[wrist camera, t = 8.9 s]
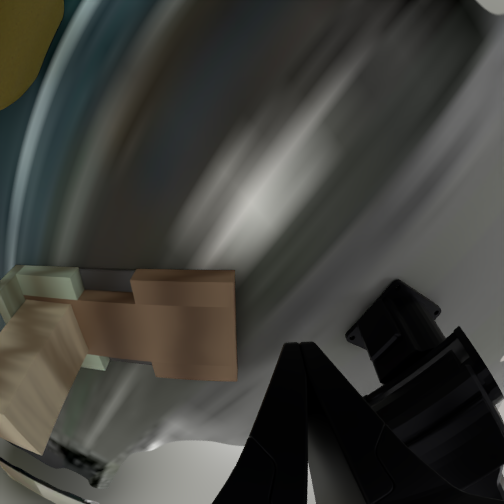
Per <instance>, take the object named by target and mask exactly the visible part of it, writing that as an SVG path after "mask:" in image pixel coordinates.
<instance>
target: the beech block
mask: <svg viewBox="0 0 504 504" xmlns="http://www.w3.org/2000/svg"><path fill="white" fill-rule="evenodd" d="M88 351H89V349H88V347H87V345H86V342H85V340H84V337H83V335H82V333H81V330H80V328H79V325H78V322H77V320H76V317H75V315H74V312H73V309H72V306H71V304H63V303H53V302H44V301H35V300H26V301H25V302H24V303H23V304H22V306H21V307H20V308H19V309H18V310H17V312H16V313H15V314H14V315H13V317H12V318H11V319H10V321H9V322H8V323H7V324H6V326H5V327H4V328H3V330H2V331H1V332H0V437H1V438H3V439H5V440H7V441H9V442H11V443H14V444H16V445H18V446H20V447H23V448H25V449H27V450H30V451H32V452H34V453H37V454H39V455H43V452H44V450H45V447H46V444H47V442H48V439H49V437H50V434H51V432H52V430H53V427H54V425H55V422H56V420H57V418H58V415H59V413H60V411H61V408H62V406H63V404H64V402H65V399H66V397H67V395H68V393H69V390H70V388H71V386H72V384H73V382H74V380H75V378H76V376H77V373H78V371H79V369H80V367H81V365H82V363H83V361H84V359H85V357H86V355H87V353H88Z"/></svg>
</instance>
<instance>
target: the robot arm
mask: <svg viewBox="0 0 504 504" xmlns="http://www.w3.org/2000/svg"><path fill="white" fill-rule="evenodd" d="M398 285H399V286H398ZM396 286H398V287H397V288H395V287H396ZM440 313H441V309H440V308H439V306H438V305H436V304H435V303H433V302H432V301H430V300H429V299H428V298H426V297H425V296H423V295H422V294H420V293H419V292H417V291H416V290H414V289H413V288H411V287H410V286H408V285H407V284H405V283H404V282H402V281H401V280H395V281H393V282H392V283H391V284H390V285H389V287H388V288H387V289H386V290H385V291H384V292H383V294H382V295H381V296H380V297H379V298H378V299H377V300H376V302H375V303H374V304H373V305H372V306H371V307H370V308H369V309H368V310H367V312H366V313H365V314H364V315H363V316H362V317H361V318H360V319H359V320H358V321H357V322H356V324H355V325H354V326H353V327H352V328H351V329H350V330H349V331H348V332H347V333H346V335H345V337H346V340H347V341H348V342H350V343H352V344H354V345H357V346H359V347H361V348H364V349H366V350H367V352H368V354H369V357H370V360H371V361H372V362H373V365H374V368H375V370H376V373H377V376H378V378H379V381H380V383H382V385H383V386H381V387H380V388H378V389H377V390H375V391H373V392H372V393H370V394H369V395H365V396H363V397H362V396H361V395H360V394H359V393H358V392H357V390H356V389H355V388H354V387H353V386H352V385H351V384H350V382H349V381H348V380H347V379H346V378H345V377H344V376H343V374H342V373H341V372H340V371H339V370H338V369H337V368H336V366H335V365H334V364H333V363H332V362H331V361H330V360H329V358H328V357H327V356H326V355H325V354H324V353H323V351H322V350H321V349H320V348H319V347H318V346H317V345H316V343H314V342H301V343H297V342H289V343H284V345H283V347H282V350H281V353H280V356H279V359H278V362H277V364H276V367H275V370H274V373H273V375H272V378H271V381H270V383H269V386H268V389H267V391H266V394H265V397H264V399H263V402H262V404H261V407H260V410H259V412H258V415H257V417H256V420H255V422H254V425H253V427H252V430H251V432H250V435H249V438H248V439H247V442H246V444H245V447H244V449H243V451H242V453H241V456H240V458H239V460H238V462H237V464H236V466H235V468H234V469H233V471H232V473H231V475H230V476H229V478H228V480H227V481H226V483H225V485H224V486H223V488H222V489H221V491H220V492H219V494H218V495H217V497H216V498H215V500H214V501H213V503H212V504H307V482H308V480H307V479H308V463H309V468H310V474H311V479H312V484H313V489H314V495H315V500H316V504H504V477H503V475H502V469H503V465H504V423H503V420H502V418H501V415H500V413H499V412H498V410H497V408H496V406H495V405H496V404H498V403H499V402H500V401H501V400H503V399H504V396H503V394H502V392H501V390H500V389H499V387H498V385H497V383H496V382H495V380H494V378H493V376H492V375H491V373H490V371H489V370H488V368H487V366H486V365H485V363H484V362H483V360H482V359H481V357H480V356H479V354H478V352H477V351H476V349H475V348H474V347H473V345H472V344H471V342H470V341H469V339H468V338H467V336H466V335H465V333H464V332H463V331H462V329H461V328H460V326H458V327H457V328H456V329H455V330H454V332H453V333H452V334H451V335H450V336H448V337H447V338H445V336H444V335H443V333H442V332H441V330H440V329H439V327H438V325H437V324H436V322H435V321H434V320H435V319H436V318H437V317H438V316H439V314H440ZM351 336H352V337H351Z"/></svg>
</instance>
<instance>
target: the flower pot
mask: <svg viewBox="0 0 504 504" xmlns="http://www.w3.org/2000/svg"><path fill="white" fill-rule="evenodd" d="M63 14H64V0H0V110H2V109H4V108H6V107H8V106H9V105H11V104H12V103H14V102H15V101H16V100H17V99H19V98H20V97H21V96H22V95H23V94H24V93H25V92H26V91H27V89H28V88H29V87H30V86H31V84H32V83H33V82H34V80H35V79H36V78H37V76H38V73H39V71H40V68H41V65H42V63H43V60H44V57H45V55H46V53H47V50H48V48H49V46H50V43H51V41H52V39H53V37H54V35H55V33H56V30H57V28H58V26H59V24H60V23H61V21H62V18H63Z"/></svg>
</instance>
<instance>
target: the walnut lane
mask: <svg viewBox="0 0 504 504" xmlns="http://www.w3.org/2000/svg"><path fill="white" fill-rule="evenodd" d="M26 300H35V301H44V302H53V303H63V304H71V306H72V309H73V312H74V315H75V317H76V320H77V322H78V325H79V328H80V330H81V333H82V335H83V337H84V340H85V342H86V345H87V347H88V349H89V351H88V353H87V355H86V357H85V359H84V361H83V363H82V365H81V367H85V368H91V369H97V370H104V371H105V370H106V368H107V365H108V363H109V361H110V360H113V361H121V362H129V363H139V364H149V365H153V369H154V372H155V375H156V377H162V378H174V379H188V380H206V381H237V372H238V365H237V334H236V300H235V270H172V269H136V270H115V269H81V268H80V269H79V267H55V266H28V265H15V266H14V267H13V268H12V269H11V270H10V271H9V272H8V273H7V274H6V275H5V276H4V277H3V278H2V279H1V280H0V313H1V315H2V317H3V319H4V321H5V323H6V324H7V323H8V322H9V321H10V319H11V318H12V317H13V315H14V314H15V313H16V312H17V310H18V309H19V308H20V307H21V306H22V304H23V303H24V302H25V301H26Z"/></svg>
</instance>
